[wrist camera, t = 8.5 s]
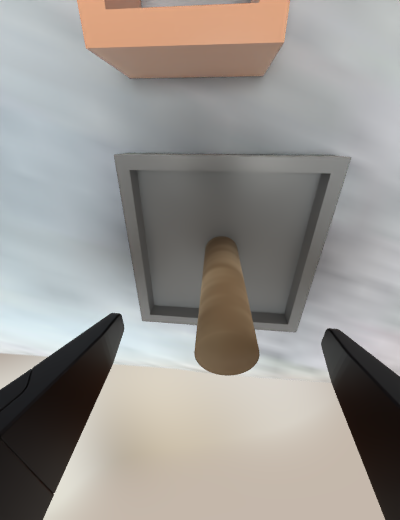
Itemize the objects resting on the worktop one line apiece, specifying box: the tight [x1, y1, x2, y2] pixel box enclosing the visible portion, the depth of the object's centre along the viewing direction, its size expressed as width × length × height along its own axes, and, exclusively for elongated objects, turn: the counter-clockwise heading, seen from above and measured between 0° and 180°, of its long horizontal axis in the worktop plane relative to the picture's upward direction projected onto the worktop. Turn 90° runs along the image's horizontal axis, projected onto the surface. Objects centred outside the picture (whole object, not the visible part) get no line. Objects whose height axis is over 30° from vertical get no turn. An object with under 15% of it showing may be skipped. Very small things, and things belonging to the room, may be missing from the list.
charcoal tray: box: [114, 153, 351, 332], centre depth 16 cm, size 13×13×2 cm
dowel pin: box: [195, 236, 259, 375], centre depth 12 cm, size 2×2×9 cm
